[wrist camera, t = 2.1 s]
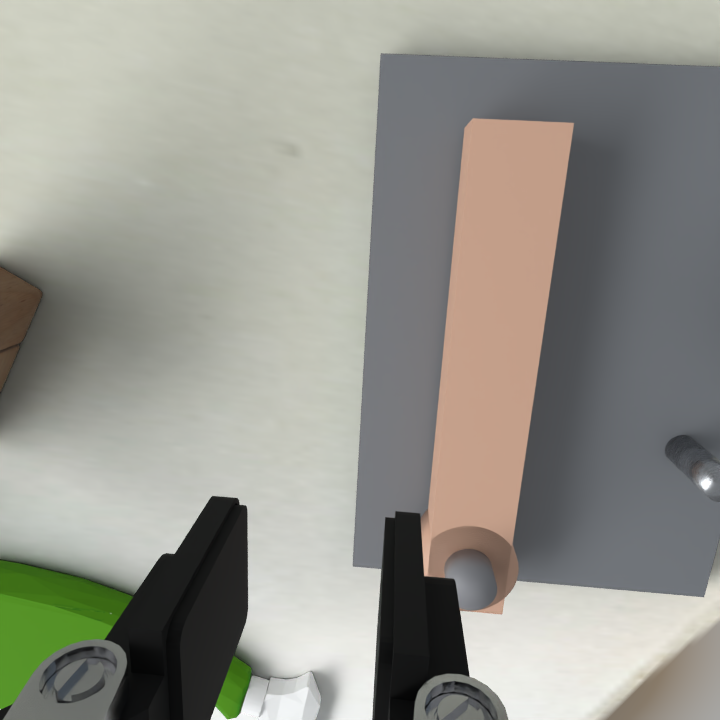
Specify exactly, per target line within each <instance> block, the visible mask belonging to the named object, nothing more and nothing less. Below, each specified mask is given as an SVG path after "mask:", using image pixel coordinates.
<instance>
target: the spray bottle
mask: <svg viewBox="0 0 720 720" xmlns="http://www.w3.org/2000/svg"><path fill="white" fill-rule="evenodd" d="M132 598H133V597H132V596H130V595H128V594H126V593H123V592H120V591H117V590H115V589H112V588H109V587H106V586H104V585H101V584H98V583H95V582H93V581H90V580H87V579H84V578H80V577H76V576H72V575H68V574H63V573H59V572H55V571H50V570H46V569H42V568H37V567H33V566H29V565H24V564H20V563H15V562H9V561H4V560H0V709H3V708H5V707H7V706H9V705H12V704H13V703H14V702H15V700H16V699H17V697H18V696H19V694H20V692H21V691H22V689H23V688H24V686H25V685H26V683H27V682H28V680H29V679H30V677H31V675H32V674H33V672H34V671H35V670H36V669H37V668H38V667H39V665H40V664H41V663H42V662H43V661H44V660H45V659H47V658H48V657H49V656H51V655H52V654H53V653H55V652H56V651H58V650H60V649H62V648H64V647H66V646H68V645H70V644H74V643H77V642H80V641H84V640H94V639H100V640H104V639H105V638H106V636H107V635H108V633H109V632H110V631H111V629H112V628H113V626H114V625H115V623H116V622H117V620H118V619H119V617H120V616H121V614H122V613H123V611H124V610H125V608H126V607H127V605H128V604H129V602H130V601H131V599H132ZM320 703H321V695H320V692H319V690H318V687H317V684H316V682H315V679H314V676H313V674H312V672H308V673H306V674H304V675H302V676H300V677H298V678H292V679H287V680H286V679H279V678H272V677H271V678H270V680H267V679H264V678H261V677H257V676H254V675H252V672H251V667H249V666H248V665H246V664H245V663H244V662H242V661H241V660H239V659H238V658H236V657H235V656H233V659H232V662H231V664H230V667H229V670H228V673H227V675H226V678H225V681H224V683H223V686H222V689H221V692H220V694H219V697H218V700H217V703H216V705H215V706H216V707H217V708H218V710H219V711H220V712H221V713H222V714H223V715H224V716H225V717H226V718H227V719H231V718H236V717H237V716H238V715H239V714H240V713H242V714H246V715H249V716H253V717H257V718H258V720H316V717H317V714H318V711H319V708H320Z"/></svg>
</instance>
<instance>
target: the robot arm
mask: <svg viewBox="0 0 720 720" xmlns="http://www.w3.org/2000/svg"><path fill="white" fill-rule="evenodd" d="M247 612H248V541H247V507H246V506H245V505H239V500H238V498H229V497H217V496H212V497H211V498H210V500H209V501H208V503H207V504H206V506H205V508H204V509H203V511H202V512H201V514H200V515H199V517H198V519H197V520H196V522H195V523H194V525H193V526H192V528H191V529H190V531H189V533H188V534H187V536H186V537H185V539H184V540H183V542H182V544H181V545H180V547H179V548H178V550H177V551H176V553H175V554H168V553H166V554H163V555H162V556H161V557H160V558H159V559H158V561H157V562H156V564H155V565H154V567H153V568H152V570H151V571H150V573H149V574H148V576H147V577H146V579H145V580H144V582H143V583H142V585H141V586H140V588H139V589H138V590H137V592H136V593H135V595H134V596H133V598H132V599H131V601H130V602H129V604H128V605H127V607H126V608H125V610H124V611H123V613H122V614H121V616H120V617H119V619H118V620H117V622H116V623H115V625H114V626H113V628H112V629H111V631H110V632H109V633H108V635H107V636H106V638H105V639H104V640H100V639H94V640H84V641H80V642H77V643H74V644H70V645H68V646H66V647H64V648H62V649H60V650H58V651H56V652H55V653H53V654H52V655H51V656H49V657H48V658H47V659H45V660H44V661H43V662H42V663H41V664H40V665H39V667H38V668H37V669H36V670H35V671H34V672H33V674H32V675H31V677H30V679H29V680H28V682H27V683H26V685H25V686H24V688H23V689H22V691H21V692H20V694H19V696H18V697H17V699H16V700H15V702H14V703H13V704H12V705H9V706H7V707H5V708H3V709H1V710H0V720H210V719H211V716H212V714H213V711H214V708H215V705H216V703H217V700H218V697H219V694H220V692H221V689H222V686H223V683H224V681H225V678H226V675H227V673H228V670H229V667H230V664H231V662H232V659H233V656H234V653H235V651H236V648H237V645H238V643H239V640H240V637H241V634H242V632H243V629H244V626H245V623H246V619H247ZM372 720H508V717H507V713H506V710H505V707H504V705H503V704H502V702H501V700H500V699H499V697H498V696H497V695H496V694H495V693H494V692H493V691H492V690H491V689H490V688H489V687H488V686H487V685H485V684H483V683H481V682H480V681H478V680H476V679H475V678H471V677H469V670H468V663H467V656H466V649H465V642H464V636H463V629H462V622H461V615H460V608H459V601H458V594H457V588H456V582H455V580H454V579H452V578H441V577H429V576H424V564H423V548H422V533H421V517H420V513H412V512H400V511H395V518H390V517H385V528H384V542H383V556H382V570H381V584H380V598H379V611H378V626H377V643H376V662H375V680H374V699H373V718H372Z"/></svg>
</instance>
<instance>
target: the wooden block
mask: <svg viewBox="0 0 720 720" xmlns="http://www.w3.org/2000/svg"><path fill="white" fill-rule="evenodd" d="M41 298H42V292H41V291H40V290H39V289H38V288H36V287H34V286H32V285H31V284H29V283H27V282H26V281H24V280H22V279H20V278H19V277H17V276H15V275H14V274H12V273H10V272H8V271H7V270H5V269H3V268H2V267H0V392H1V390H2V388H3V385H4V383H5V381H6V378H7V376H8V374H9V371H10V369H11V367H12V364H13V362H14V360H15V357H16V355H17V353H18V350H19V345H18V344H19V343H20V342H21V341H23V339H24V337H25V335H26V332H27V330H28V328H29V325H30V323H31V321H32V318H33V316H34V314H35V311H36V309H37V307H38V305H39V302H40V300H41Z"/></svg>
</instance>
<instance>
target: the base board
mask: <svg viewBox="0 0 720 720" xmlns="http://www.w3.org/2000/svg"><path fill="white" fill-rule="evenodd" d="M473 118H476V119H499V120H521V121H543V122H566V123H574V127H573V134H572V140H571V147H570V154H569V161H568V168H567V175H566V181H565V188H564V195H563V202H562V209H561V216H560V222H559V229H558V236H557V243H556V250H555V257H554V263H553V270H552V277H551V284H550V291H549V298H548V304H547V311H546V318H545V325H544V332H543V339H542V345H541V352H540V359H539V366H538V373H537V380H536V386H535V393H534V400H533V407H532V414H531V421H530V427H529V434H528V441H527V448H526V455H525V462H524V468H523V475H522V482H521V489H520V496H519V503H518V509H517V516H516V523H515V530H514V537H513V547H514V550H515V553H516V556H517V560H518V566H519V571H518V577H517V581H526V582H537V583H549V584H560V585H572V586H583V587H594V588H606V589H617V590H629V591H640V592H651V593H663V594H674V595H686V596H697V597H704V595H705V591H706V588H707V584H708V580H709V576H710V572H711V569H712V565H713V561H714V557H715V554H716V550H717V546H718V542H719V538H720V502H715V501H713V500H711V499H710V498H708V497H707V496H706V495H705V494H704V493H703V492H702V491H701V490H700V489H699V488H698V487H697V486H696V485H695V484H694V483H693V482H692V481H691V480H690V479H689V478H688V477H687V476H686V475H684V474H683V473H682V472H681V471H680V470H679V469H678V468H677V467H676V466H675V465H674V464H673V463H672V462H671V461H670V460H669V459H668V458H667V457H666V454H665V447H666V444H667V443H668V442H669V441H670V440H671V439H672V438H674V437H676V436H679V435H686V436H689V437H691V438H693V439H694V440H695V441H696V442H698V443H699V444H700V445H701V446H703V447H704V448H705V449H706V450H707V451H709V452H710V453H711V454H712V455H714V456H715V457H716V458H717V459H719V460H720V67H714V66H689V65H663V64H637V63H611V62H586V61H560V60H534V59H508V58H483V57H457V56H431V55H405V54H381V59H380V78H379V96H378V114H377V132H376V151H375V169H374V187H373V205H372V224H371V242H370V260H369V278H368V296H367V315H366V333H365V351H364V369H363V388H362V406H361V424H360V442H359V461H358V479H357V497H356V515H355V534H354V552H353V566H355V567H366V568H378V569H382V556H383V542H384V528H385V517H390V518H395V511H400V512H412V513H420V517H422V515H423V514H424V513H425V511H426V510H427V509H428V504H429V494H430V483H431V473H432V462H433V452H434V441H435V431H436V421H437V410H438V400H439V389H440V379H441V368H442V358H443V347H444V337H445V326H446V316H447V306H448V295H449V285H450V274H451V264H452V253H453V243H454V232H455V222H456V211H457V201H458V191H459V180H460V170H461V159H462V149H463V138H464V128H465V127H466V126H467V124H468V123H469V122H470V121H471V120H472V119H473Z"/></svg>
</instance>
